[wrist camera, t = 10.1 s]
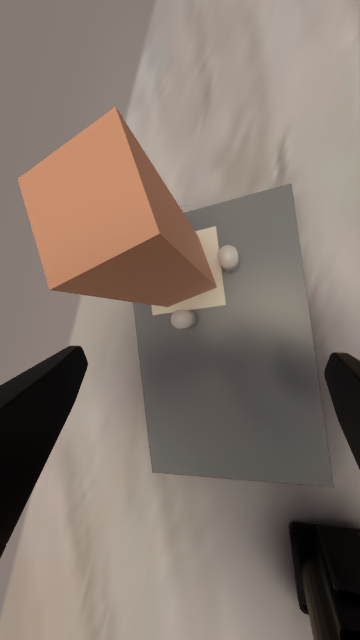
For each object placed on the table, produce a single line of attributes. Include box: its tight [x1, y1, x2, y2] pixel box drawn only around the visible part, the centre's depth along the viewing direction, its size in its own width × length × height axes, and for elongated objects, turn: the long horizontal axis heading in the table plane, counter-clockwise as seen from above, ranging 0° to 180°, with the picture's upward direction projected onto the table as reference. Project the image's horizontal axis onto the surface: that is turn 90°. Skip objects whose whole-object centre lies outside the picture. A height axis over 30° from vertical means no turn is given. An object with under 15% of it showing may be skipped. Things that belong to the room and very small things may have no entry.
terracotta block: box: [18, 107, 217, 307], centre depth 13 cm, size 4×4×12 cm
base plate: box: [133, 184, 334, 488], centre depth 18 cm, size 22×14×4 cm, turn 7°
